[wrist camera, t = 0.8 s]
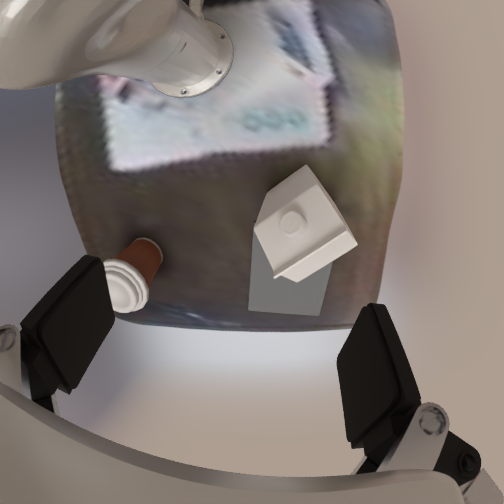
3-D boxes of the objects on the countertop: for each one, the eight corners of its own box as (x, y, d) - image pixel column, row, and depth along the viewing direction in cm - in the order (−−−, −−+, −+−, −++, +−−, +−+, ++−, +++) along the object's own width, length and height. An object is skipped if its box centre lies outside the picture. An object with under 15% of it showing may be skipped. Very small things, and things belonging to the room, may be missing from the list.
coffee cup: (172, 278, 47) (148, 323, 37) (128, 272, 48) (98, 313, 37) (167, 231, 43) (136, 271, 32) (120, 228, 43) (83, 264, 33)
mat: (254, 221, 41) (253, 222, 40) (338, 229, 40) (339, 231, 40) (248, 308, 49) (248, 310, 49) (318, 313, 48) (318, 315, 48)
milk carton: (334, 203, 38) (368, 264, 21) (295, 230, 40) (297, 306, 23) (306, 163, 36) (321, 193, 19) (266, 192, 38) (246, 245, 21)
